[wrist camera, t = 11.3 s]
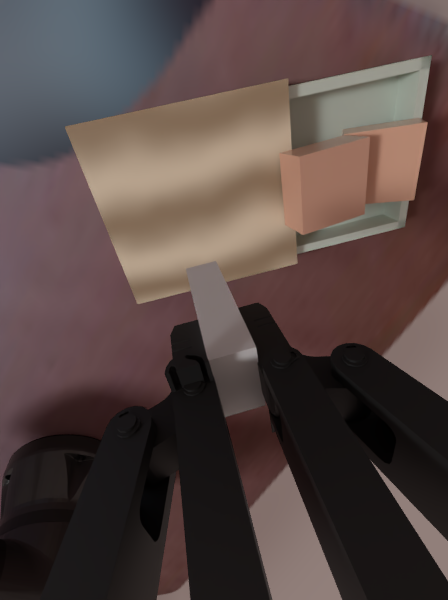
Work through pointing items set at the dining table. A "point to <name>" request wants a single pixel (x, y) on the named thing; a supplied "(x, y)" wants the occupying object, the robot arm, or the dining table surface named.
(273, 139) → the board
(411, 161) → the tile rear
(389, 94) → the tray
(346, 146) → the tile front
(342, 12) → the dining table surface
